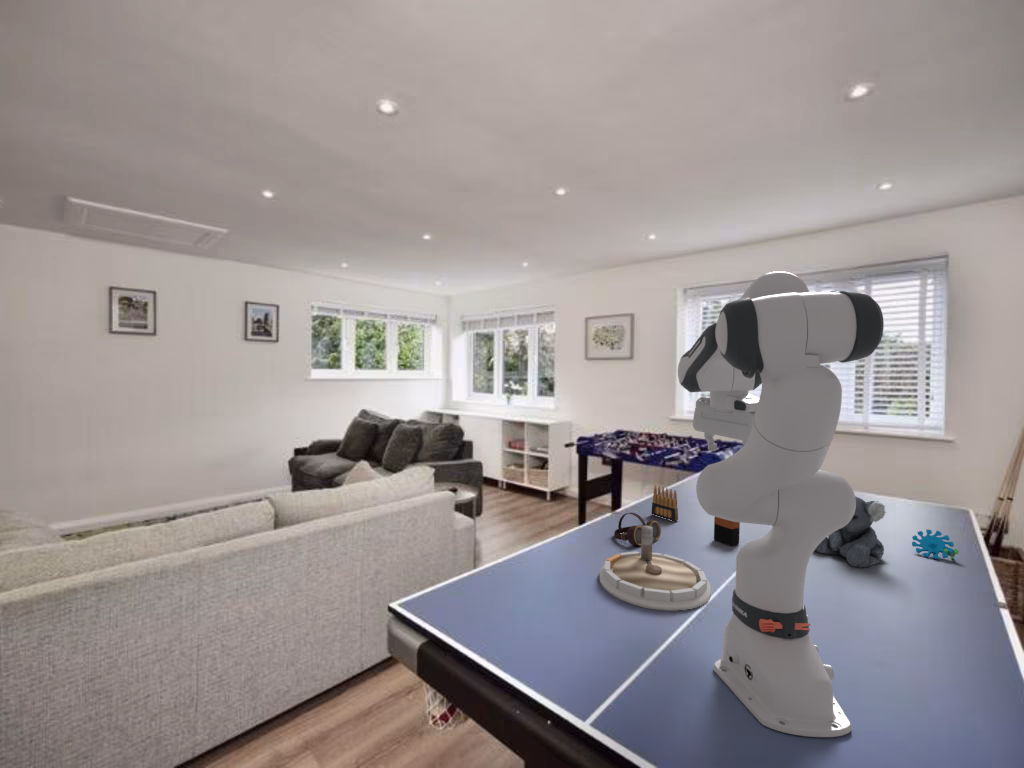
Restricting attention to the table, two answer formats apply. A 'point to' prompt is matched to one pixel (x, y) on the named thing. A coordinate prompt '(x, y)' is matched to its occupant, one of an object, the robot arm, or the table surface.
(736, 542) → the battery
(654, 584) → the dial
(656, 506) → the ammunition clip
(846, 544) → the koala plush
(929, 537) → the blue virus model
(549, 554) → the table surface
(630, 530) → the goggles
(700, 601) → the dial base
